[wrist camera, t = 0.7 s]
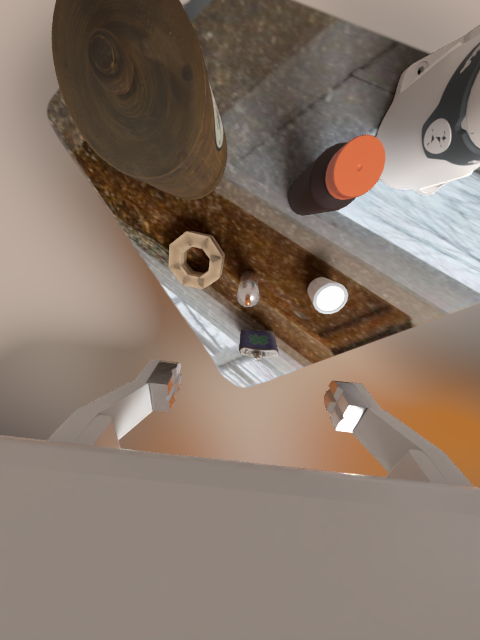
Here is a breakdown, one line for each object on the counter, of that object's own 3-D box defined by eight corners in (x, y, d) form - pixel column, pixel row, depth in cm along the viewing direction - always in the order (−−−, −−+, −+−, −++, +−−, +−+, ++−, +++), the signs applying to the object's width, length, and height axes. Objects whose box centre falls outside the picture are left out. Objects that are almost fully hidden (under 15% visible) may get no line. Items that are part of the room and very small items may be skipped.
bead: (203, 221, 39) (198, 221, 35) (233, 266, 43) (231, 270, 39) (165, 251, 42) (158, 254, 38) (196, 290, 46) (192, 296, 42)
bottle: (281, 189, 36) (312, 154, 18) (315, 164, 34) (387, 98, 16) (296, 222, 38) (336, 221, 20) (329, 201, 36) (404, 180, 18)
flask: (274, 330, 50) (280, 355, 41) (273, 339, 51) (278, 365, 42) (240, 327, 50) (238, 351, 41) (240, 336, 52) (237, 362, 42)
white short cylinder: (302, 279, 43) (311, 288, 37) (333, 270, 42) (347, 278, 36) (306, 305, 46) (315, 317, 40) (335, 298, 45) (349, 309, 39)
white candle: (251, 267, 43) (251, 287, 29) (260, 281, 44) (264, 306, 31) (237, 276, 44) (231, 299, 31) (246, 290, 45) (244, 317, 32)
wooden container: (244, 140, 33) (233, 17, 13) (200, 216, 39) (147, 209, 19) (170, 65, 29) (4, -258, 10) (133, 162, 35) (-15, 83, 15)
